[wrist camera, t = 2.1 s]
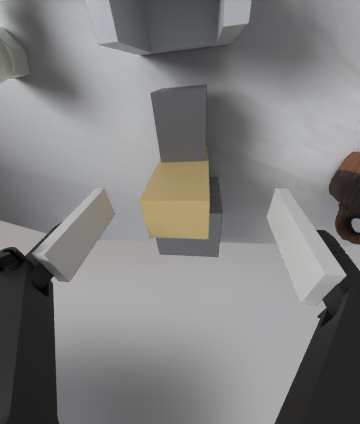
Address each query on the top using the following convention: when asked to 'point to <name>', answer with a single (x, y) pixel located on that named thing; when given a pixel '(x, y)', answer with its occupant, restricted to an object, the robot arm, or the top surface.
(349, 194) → the rusty metal ring bracket
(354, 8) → the top surface
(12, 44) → the valve
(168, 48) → the socket
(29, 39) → the top surface
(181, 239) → the gray block
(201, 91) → the two-tone stepped block
